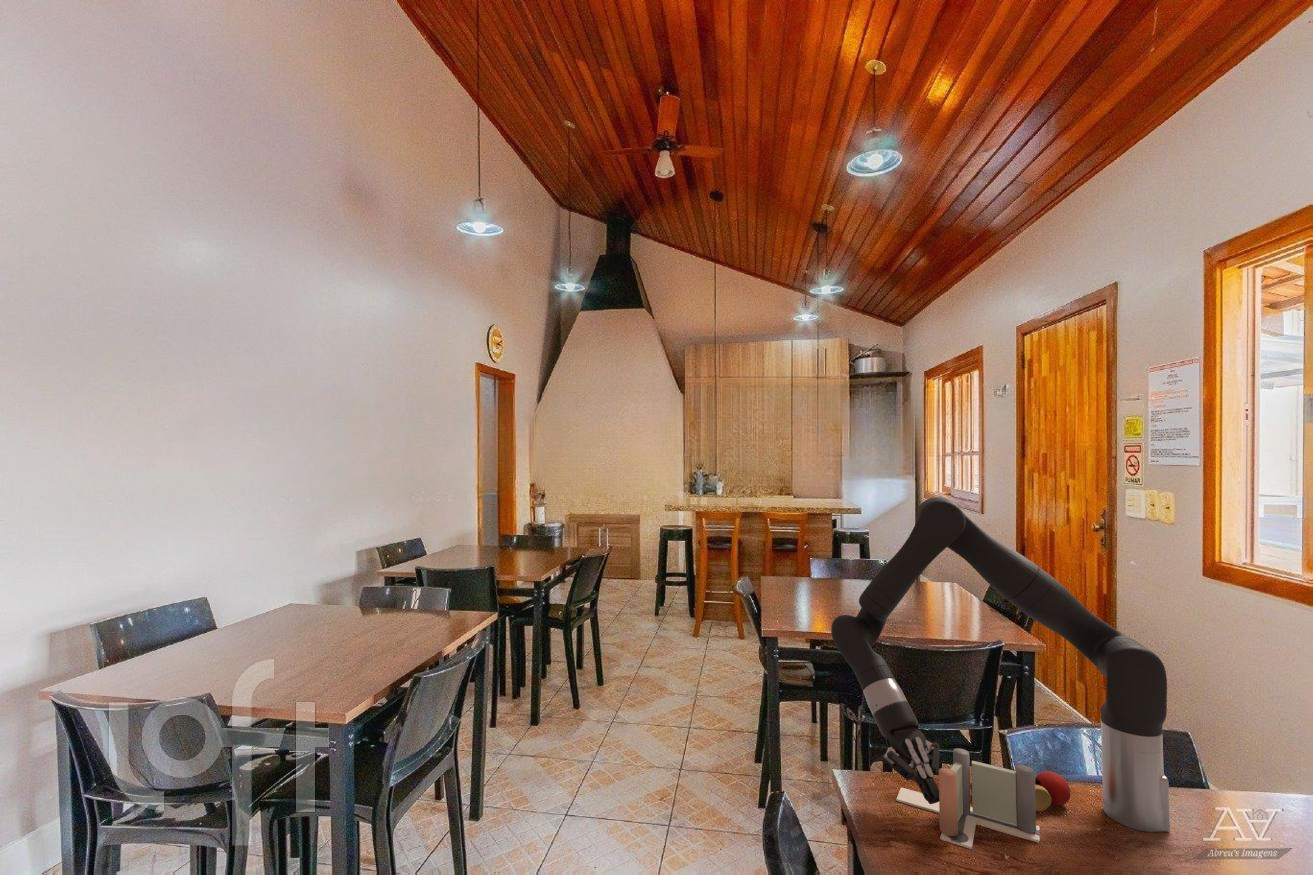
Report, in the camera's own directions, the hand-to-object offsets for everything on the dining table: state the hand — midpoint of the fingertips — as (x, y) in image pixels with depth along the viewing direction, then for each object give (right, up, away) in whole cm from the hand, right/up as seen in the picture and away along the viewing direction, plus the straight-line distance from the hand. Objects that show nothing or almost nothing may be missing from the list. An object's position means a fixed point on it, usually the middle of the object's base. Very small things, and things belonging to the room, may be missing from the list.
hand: (935, 802), depth 109 cm
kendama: (+21, -6, +9) cm, 24 cm away
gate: (+3, -4, 0) cm, 5 cm away
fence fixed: (+12, -5, +2) cm, 13 cm away
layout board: (+6, -5, +1) cm, 8 cm away
